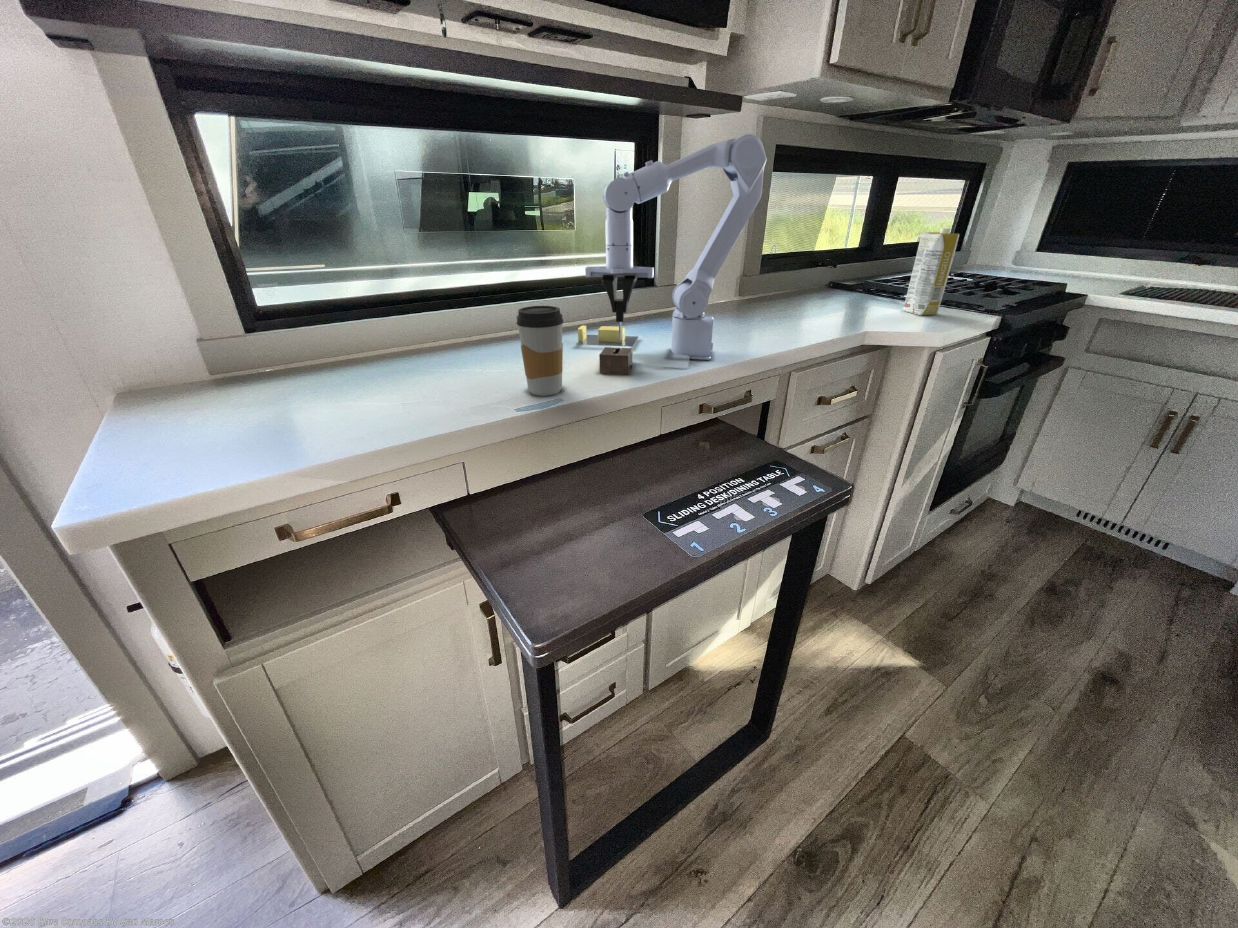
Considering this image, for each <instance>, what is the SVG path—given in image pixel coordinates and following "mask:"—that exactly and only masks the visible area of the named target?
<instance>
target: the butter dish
mask: <svg viewBox="0 0 1238 928" xmlns="http://www.w3.org/2000/svg"><path fill="white" fill-rule="evenodd" d="M638 338H639V335H638V336H637V335H636V336H635V335H633V336H632V335H625V339H624V341H623V342H622V343H617V342H599V341H598V334H586V339H585V340H584V341H577V343H576V345H579V346H581V345H584V346H605V347H609V346H610V347H630V348H633V347H634V345H635V343H636V342H637V340H638Z"/></svg>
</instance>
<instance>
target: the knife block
mask: <svg viewBox="0 0 1238 928" xmlns="http://www.w3.org/2000/svg"><path fill="white" fill-rule="evenodd" d="M633 350H634V349H633V347H613V346H610V347H609V346H605V347H604V348H603V349H602V351H601V352H600V353H599V355H598V357H599V359H598V360H599V374H602V375H623V376H624V375H625V376H628V375H630V372H631V371H632V368H633V366H634V365H633V361H634V357H633V355H634V353H633Z"/></svg>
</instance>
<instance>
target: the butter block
mask: <svg viewBox="0 0 1238 928" xmlns="http://www.w3.org/2000/svg"><path fill="white" fill-rule="evenodd" d="M621 330H622V339H621V342H619V326H611V325H609V326H607V325H606V326H605V325H601V326H600V327H599V328H598V329H597V333H598V334H597V335H598V341H599V342H617V343H622V342H623V341H624V339H625V336H626V326H621Z"/></svg>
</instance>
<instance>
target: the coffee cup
mask: <svg viewBox="0 0 1238 928" xmlns="http://www.w3.org/2000/svg"><path fill="white" fill-rule="evenodd" d="M563 323H564V319H563V314H562V313H561V308H559V306H553V305H531V306H530V305H529V306H525V307H521V308H519V309H518V310H517V315H516V325H517V329H518V335H519V340H520V341H519V342H520V350H521V356H522V362H523V363H522V364H523V370H524V375H525V378H526V384H527V389H528V390H529V393H530V394H532V395H534V396H540V397H541V396H542V397H545V396H546V397H547V396H552V395H557V394H559V393H560V392H561V391H562V390H561V389H562V388H563V370H564V369H563V363H564V362H563V359H564V357H563V356H564V355H563V354H564V353H563V351H564V350H563V349H564V348H563V347H564V345H563Z"/></svg>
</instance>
